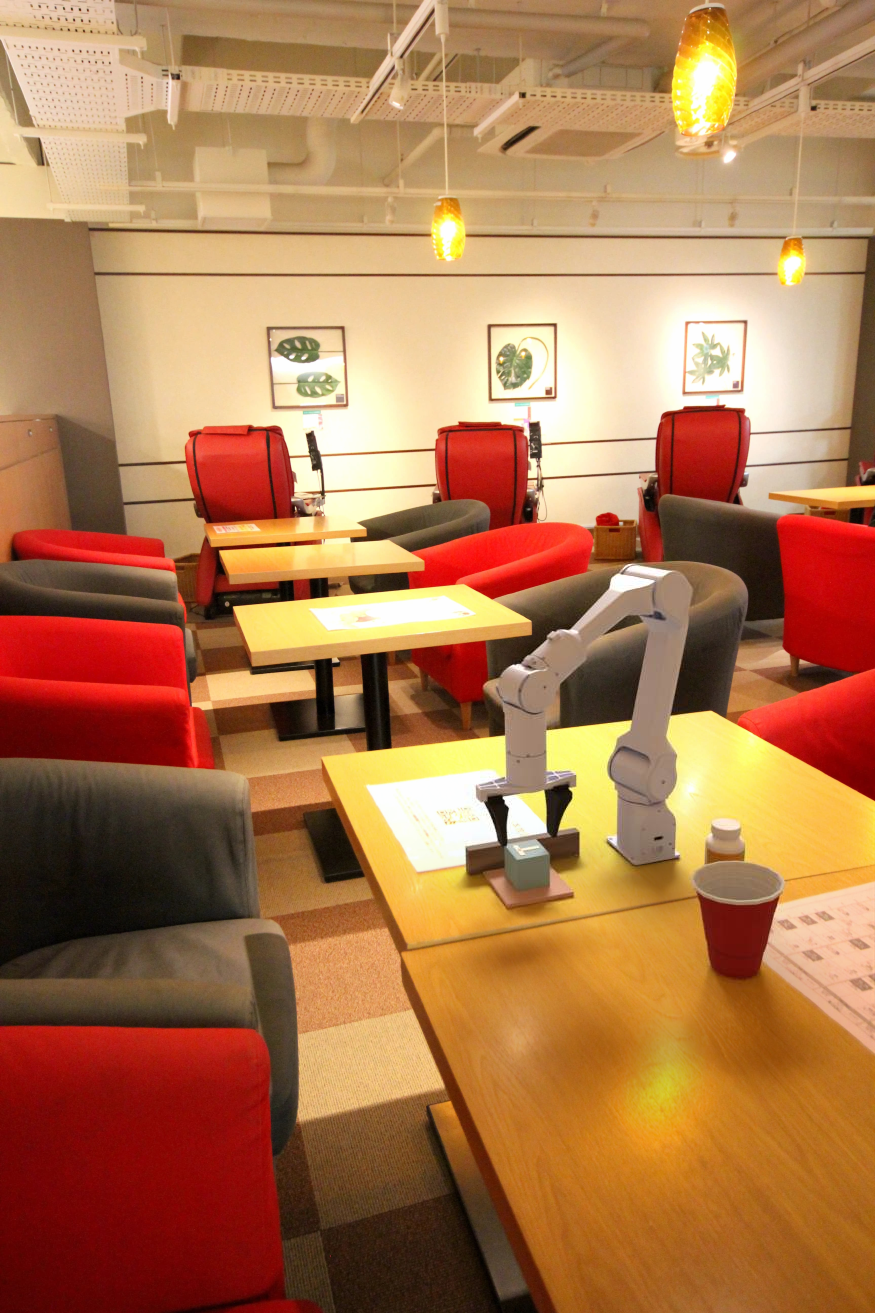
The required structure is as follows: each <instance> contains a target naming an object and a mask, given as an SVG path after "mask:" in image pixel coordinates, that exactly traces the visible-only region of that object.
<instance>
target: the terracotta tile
mask: <svg viewBox="0 0 875 1313" xmlns="http://www.w3.org/2000/svg"><path fill="white" fill-rule="evenodd" d="M483 877H484V878H485V879H486V880H487V882H488V883H489V885H490V886H491V887H492V889H493V890H494V892H495V893H496V894H497V896H498V897H499V899H501V901H502V902H503V904H504V906H505V907H506V908H507V909H510V908H516V907H521V906H525V905H526V906H527V905H531V904H532V905H533V904H536V903H541V902H547V901H552V900H557V899H562V898H568V897H573V896H575V895H574V894H575V893H574V892H575V891H574V890H573V889H572V888H571V886H569V884H567V883H566V881H565V880H564V879H563V878H562V877H561V876H560V875H559V873H557V871H556V870H555V869H554V868H553V867H552V866H551V865H550V886H546V887H540V888H535V889H530V890H524V891H519V892H517V891H516V889H515V888H514V887H513V885H512V884H511V883H510V882H509V880H508V879H507V878H506V876H505V868H501V869H495V870H490V871H484V873H483Z"/></svg>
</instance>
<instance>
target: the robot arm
mask: <svg viewBox="0 0 875 1313" xmlns="http://www.w3.org/2000/svg"><path fill="white" fill-rule="evenodd" d="M693 591H694V588H693V587H692V585H691V584H690V582H689V581H688V579H687V577H686V576H685V575H684V574H683V573H682V572H680V571H678V570H668V569H661V568H655V567H650V566H645V565H644V566H643V565H641V564H637V563H630V564H627V565H625V566H624V567H622V569H620V571H619V572H618V573H616V574H615V575H614V576H613V577H611V578H610V582H609V588H608V589H607V590H606V591H605V592H604V593H603V594H602V596H600V598H598V600H597V601H596V602H595V603H594V604H593V605H592V606H591V607H590V608H589V609H588V610H587V611H586V613H584V614H583V616H581V618H579V620H578V621H576V623H575V624H574V625H573V626H572V627H571V628H570V629H557V630H556V631H551V632H550V633H549V634H547V635H546V640H545V641H544V642H543V643H542V644H540V645H539V647H537V648H536V649H535V650H534V651H533V652H532V653H531V654H529V655H527V656H525V657H524V658H523V661H522V662H521V663H517V664H512V665H510V666H508V667H506V669H504V670H503V671H502V673H501V674H500V676H499V678H498V682H497V685H495V686H494V690H495V693H496V696H497V698H498V699H499V700H500V701H501V703H502V711H503V713H504V737H505V738H504V739H505V740H504V741H505V742H504V743H505V744H504V745H505V775H504V776H501V777H499V778H496V779H492V780H489V781H486V782H482V783H477V784H475V798H476V799H477V800H478V801H479V802H480V803H483V804H484V806H485V807H486V808H485V809H487V811H488V814H489V816H490V818H491V821H492V824H493V826H494V830H495V834H496V838H497V840H496V841H498V842H499V843H500V845H501V846H502V847H505V846H507V842H508V839H509V838H508V826H507V825H508V819H509V818H508V817H509V811H510V807H509V806H508V805H507V804H506V799H504V797H509V796H516V795H521V794H534V793H539V792H541V791H544V797H545V807H546V810H545V811H546V817H545V819H546V822H545V824H546V825H545V826H546V833H548V834H549V835H550V836H551V837H552V838H555V837H557V834H558V831H559V829H560V826H561V822H562V819H563V816H564V815H565V812H566V810H567V808H568V807H569V805H570V803H571V801H573V791H572V790H571V788H576V787H577V774H576V773H575V772H574V771H572V770H571V769H567V770H548V767H547V765H548V764H547V762H548V759H547V755H548V754H547V708H550V707H551V705H552V703H554V700H555V697H556V693H557V691H558V689H560V686H561V683H563V682H564V681H565V680H566V679H567V678H568V677H569V676H570V675H572V673H573V672H574V671H576V670H577V669H578V668H579V667H580V666H581V665H582V664H583V663H584V662H585V661H586V660H587V657H588V654H587V653H588V647H589V646H591V645H592V644H593V643H595V641H597V640H599V638H601V637H602V636H603V635H604V634H605V633H607V632H608V631H609V630H611V629H612V628H613V627H615V626H616V625H617V624H619V622H620V621H622V620H623V619H624V618H625V617H627V616H638V617H639V618H640V619H641V621H642V622H643V623H644V625H645V627H647V629H648V636H647V641H646V646H645V649H644V650H645V651H644V655H643V656H644V657H643V660H642V661H643V662H642V666H641V671H640V677H639V682H638V687H637V693H636V697H635V702H634V708H633V713H632V717H631V723H630V729H629V730H628V731H626V732H625V733H622V735H620V736H618V737H617V738H616V742H615V746H614V749H613V751H612V753H611V754H610V756H609V757H608V761H607V764H606V765H607V766H606V770H607V776H608V778H609V779H610V780H611V781H612V782H613V783H614V790H615V791H617V799H616V802H617V804H616V834H615V835H608V836H606V837H605V841H607V842H608V843H609V844H610V845H611V846H612V847H613V848H614V849H616V851H618V852H619V853H620V854H621V855H622V856H623V857H624V858H625V859H626V860H627V861H629V862H630V863H631V864H632V865H633V866H639V865H645V864H650V863H654V862H660V861H666V860H672V859H676V858H680V857H681V853H680V852H679V851H677V850H676V840H677V839H676V837H677V835H676V831H677V821H676V817H675V815H674V813H673V812H672V810H670V808H669V807H668V804H667V802H666V800H668V799H669V797H670V796H671V794H672V793H673V792H674V790H675V788H676V786H677V780H678V772H677V758H678V754H677V752H676V750H675V748H674V746H672V744H671V742H670V741H669V739H668V737H667V736H668V735H667V734H668V729H669V724H670V719H671V714H672V710H673V704H674V700H675V694H676V691H677V690H676V689H677V685H678V679H679V676H680V675H679V674H680V670H681V669H680V668H681V665H682V660H683V655H684V650H685V645H686V640H687V636H688V635H687V634H688V629H689V621H690V620H689V612H690V606H691V601H692V596H693Z"/></svg>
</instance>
